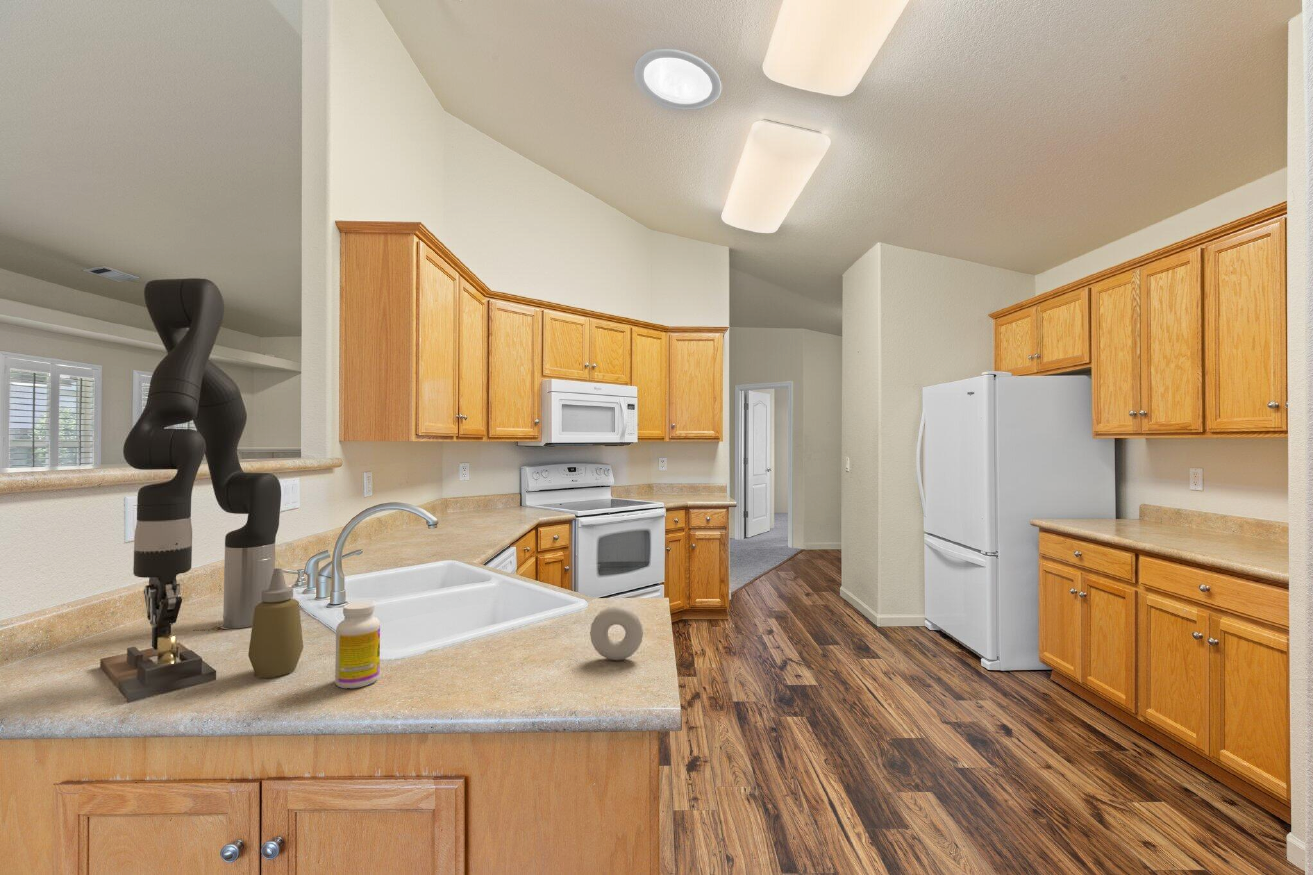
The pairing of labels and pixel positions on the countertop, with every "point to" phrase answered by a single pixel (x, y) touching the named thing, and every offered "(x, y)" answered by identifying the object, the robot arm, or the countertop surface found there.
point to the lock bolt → (166, 650)
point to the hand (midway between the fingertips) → (161, 647)
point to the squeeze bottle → (276, 630)
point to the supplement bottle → (357, 646)
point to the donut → (618, 648)
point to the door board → (155, 672)
